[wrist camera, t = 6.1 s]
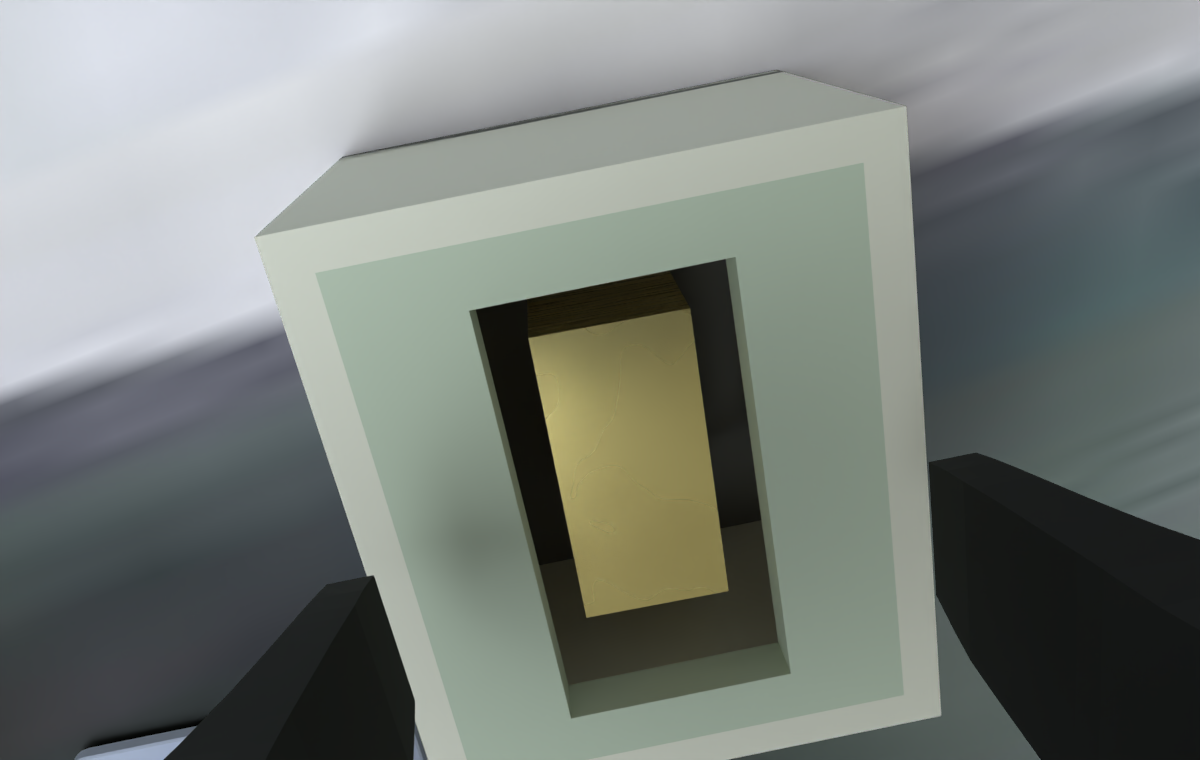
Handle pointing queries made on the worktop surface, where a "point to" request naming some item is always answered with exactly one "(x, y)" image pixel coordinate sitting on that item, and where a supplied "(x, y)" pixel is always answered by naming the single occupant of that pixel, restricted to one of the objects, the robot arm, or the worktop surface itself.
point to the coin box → (730, 398)
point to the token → (629, 441)
